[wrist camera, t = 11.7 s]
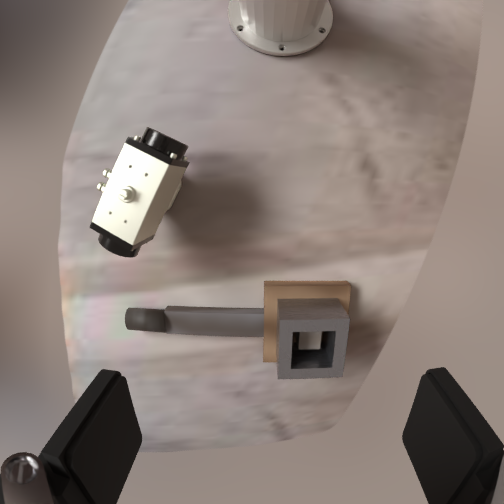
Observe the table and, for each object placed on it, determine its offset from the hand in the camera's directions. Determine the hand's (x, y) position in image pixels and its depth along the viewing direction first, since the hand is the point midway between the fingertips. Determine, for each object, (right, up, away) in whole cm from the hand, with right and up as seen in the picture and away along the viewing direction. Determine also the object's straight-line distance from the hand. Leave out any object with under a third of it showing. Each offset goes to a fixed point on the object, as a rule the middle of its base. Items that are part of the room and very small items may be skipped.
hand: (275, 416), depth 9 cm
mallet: (-3, -3, +31) cm, 31 cm away
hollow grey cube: (+6, -4, +29) cm, 29 cm away
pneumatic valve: (-11, +12, +28) cm, 33 cm away
